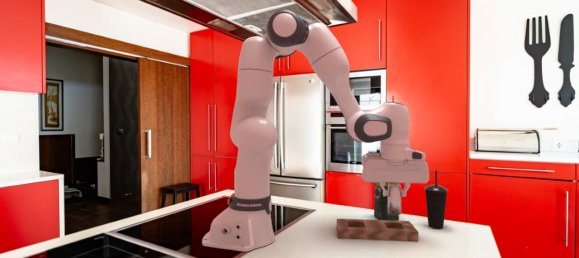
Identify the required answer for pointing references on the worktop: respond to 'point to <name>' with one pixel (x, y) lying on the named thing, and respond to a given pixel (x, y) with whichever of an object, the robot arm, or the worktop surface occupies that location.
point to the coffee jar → (382, 203)
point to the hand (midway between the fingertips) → (394, 196)
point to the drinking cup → (436, 204)
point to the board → (376, 230)
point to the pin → (394, 199)
